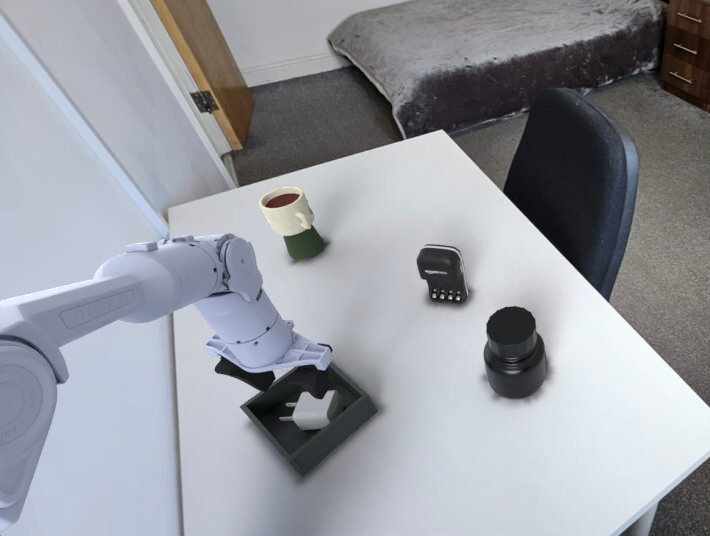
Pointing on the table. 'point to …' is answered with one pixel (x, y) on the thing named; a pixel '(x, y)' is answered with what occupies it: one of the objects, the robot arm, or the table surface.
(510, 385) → the ink bottle
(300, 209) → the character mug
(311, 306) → the table surface
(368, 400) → the open storage tray
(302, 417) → the usb wall charger
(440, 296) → the battery charger
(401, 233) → the table surface
